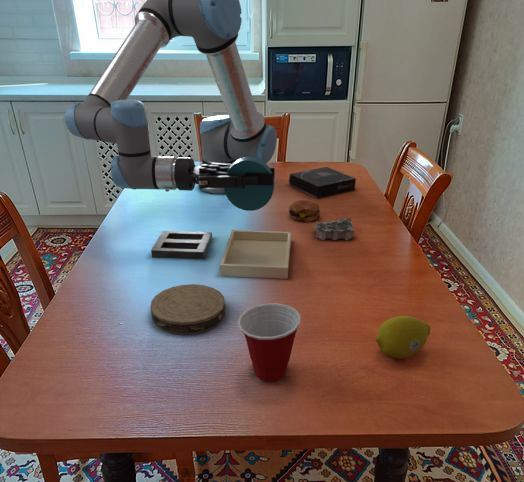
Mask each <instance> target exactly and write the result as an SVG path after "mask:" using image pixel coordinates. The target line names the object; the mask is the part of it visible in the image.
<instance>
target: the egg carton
mask: <svg viewBox="0 0 524 482" xmlns="http://www.w3.org/2000/svg"><path fill="white" fill-rule="evenodd" d="M354 232H355V230H354V226H353V221H352V217H345V218H340V220H333V221H323V222H320V221H316V222H315V234H316V238H317V239H319V240H321V241H325V240H327V239H331V240H333V241H337V240H339V239H343V240H345V241H349V240H350V239H351V240H352V239H353V236H354Z"/></svg>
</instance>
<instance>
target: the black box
mask: <svg viewBox="0 0 524 482" xmlns="http://www.w3.org/2000/svg"><path fill="white" fill-rule="evenodd" d="M288 183H289V184H288V185H289V186H290V187H293V188H295V189H296V190H299V191H301V192H303V193H304V194H307V195H309V196H311V197H313V198H315V199H321V198H326V197H330V196H331V197H332V196H335V195H339V194H343V193H347V192H353V191H355V189H356V183H357V178H355V177H353V176H350V175H348V174H345V173H343V172H341V171H338V170H335V169H333V168H330V167H329V166H323V167H319V168H314V169H309V170H308V169H307V170H304V171H299V172H295V173H294V172H293V173H290V174H289V178H288Z"/></svg>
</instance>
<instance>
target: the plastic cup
mask: <svg viewBox="0 0 524 482" xmlns="http://www.w3.org/2000/svg"><path fill="white" fill-rule="evenodd" d="M301 317H302V316H301V314H300V312H298V310H297V309H295V308H294V307H292V306H291V305H288V304H284V303H278V302H277V303H276V302H275V303H274V302H273V303H272V302H271V303H270V302H269V303H268V302H267V303H266V302H265V303H262V304H257V305H254V306H252V307H250V308H248V309H245V311H244V312H243V313H241V315H240V316H239V318H238V321H237V325H238V327H239V330H240V331H241V333H243V335H244V338H245V341H246V345H247V349H248V353H249V357H250V361H251V364H252V369H253V371H254V374H255V376H256V378H258V379H259V380H260V381H263V382H266V383H267V382H269V383H273V382H278V381H281V380H282V379H283V378H284V377H285V375H286V373H287V370H288V366H289V362H290V359H291V356H292V350H293V345H294V342H295V338H296V334H297V331H298V328H299V327H300V325H301Z"/></svg>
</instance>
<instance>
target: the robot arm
mask: <svg viewBox="0 0 524 482" xmlns="http://www.w3.org/2000/svg"><path fill="white" fill-rule="evenodd" d="M241 14H242V8H241V2H240V0H145V2H144V3H143V4H142V6H141V7H140V9H139V10H138V11H137V13H136V15H135V16H134V25H133V27H132V28H131V30H130V31H129V33H128V35H126V38H125V39H124V41H123V42H122V43H121V44H120V47H119V48H118V49H117V51H116V52H115V54H114V56H113V57H112V59H111V60H110V62H109V63H108V65H107V66H106V68H105V69H104V71H103V72H102V74H100V76H99V78H98V80H97V81H96V82H95V84H94V86H93V87H92V89H91V90H90V92H89V93H88V95H87V96H86V97H85V99H84V101H83V102H82V103H79V102H78V103H73V104H71V105H69V106H68V107H67V108H66V110H65V114H64V121H65V126H66V128H67V130H68V131H69V132H70V133H71V134H72V136H75V137H77V138H81V139H84V140H86V141H87V140H91V141H98V142H104V143H109V144H110V143H111V144H116V147H117V152H118V155H115V156H113V157H112V159H111V161H110V176H111V180H112V182H113V184H114V185H115V186H116V187H117V188H120V189H130V190H159V191H160V190H162V191H163V190H165V192H166V193H167V192H170V191H176V190H178V191H187V192H188V191H190V192H191V191H193V190H194V189H195V186H196V185H198V189H199V190H200V191H202V192H204V193H208V194H214V195H221V194H223V195H224V194H225V191H224V188H241V185H242V189H244V188H245V183H246V185H273V176H274V180H276V179H275V178H276V177H275V173H276V171H275V170H276V168H275V167H270V169H271V171H272V173H261V172H246V176H245V174H243V173H230V172H227V171H228V169H229V167H230V166H231V165H232V164H233V163H234V162H235V161H236V160H238V159H240V158H243V157H255V158H258V159H260V160H262V161H264V162H265V163H266V164H268V163H269V162H270V161H271V159H272V158H273V156H274V155H275V152H276V151H275V150H276V148H277V142H278V141H277V140H278V134H277V130H276V127H274V126H272V125H267V123H266V120H265V117H264V115H263V114H262V113H261V112H259V111H258V110H257V107H256V104H255V101H254V98H253V93H252V91H251V88H250V85H249V82H248V78H247V75H246V72H245V68H244V66H243V62H242V59H241V56H240V53H239V49H238V46H237V44H236V42H237V40H238V37H239V32H240V30H241V26H242V22H243V21H242V17H241ZM177 37H190V38H192V39H193V41H194V44H195V46H196V48H197V51H198V52H199V53H200V54H204V55H205V56H206V60H207V62H208V65H209V67H210V70H211V72H212V75H213V78H214V80H215V83H216V85H217V86H216V87H217V88H218V91H219V94H220V96H221V99H222V102H223V104H224V108H225V110H226V113H227V114H222V115H214V116H210V117H206V118H203V119H202V120H201V121H200V123H199V137H200V147H201V148H200V149H201V150H200V151H201V161H202V164H200V165H196V164H195V160H194V159H193V158H192V157H186V156H184V157H183V156H182V157H181V156H180V157H179V156H178V157H177V158H176V157H175V156H152V151H151V143H150V135H149V125H148V124H149V123H148V119H147V114H146V109H145V105H144V103H143V102H142V101H140V100H138V99H128V98H129V97H130V95H131V94H132V92H133V91H134V89H135V87H136V86H137V84H138V83H139V81H140V80H141V78H142V77H143V76H144V74H145V72H146V71H147V69H148V67H149V66H150V65H151V63H152V61H153V59H154V58H155V57H156V55H157V54H158V52H159V50H160V49H164V48H166V47H167V46H168V45H169V43H170V42H171V41H172V40H173V39H175V38H177ZM225 195H226V194H225Z"/></svg>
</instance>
